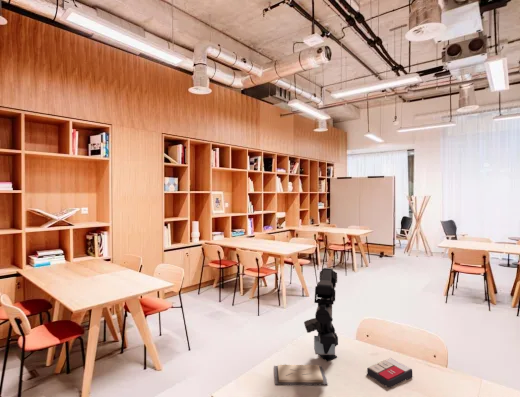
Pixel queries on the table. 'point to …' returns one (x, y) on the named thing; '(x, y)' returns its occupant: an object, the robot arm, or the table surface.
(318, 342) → the block
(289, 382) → the board
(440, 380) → the table surface
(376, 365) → the black red beige box
